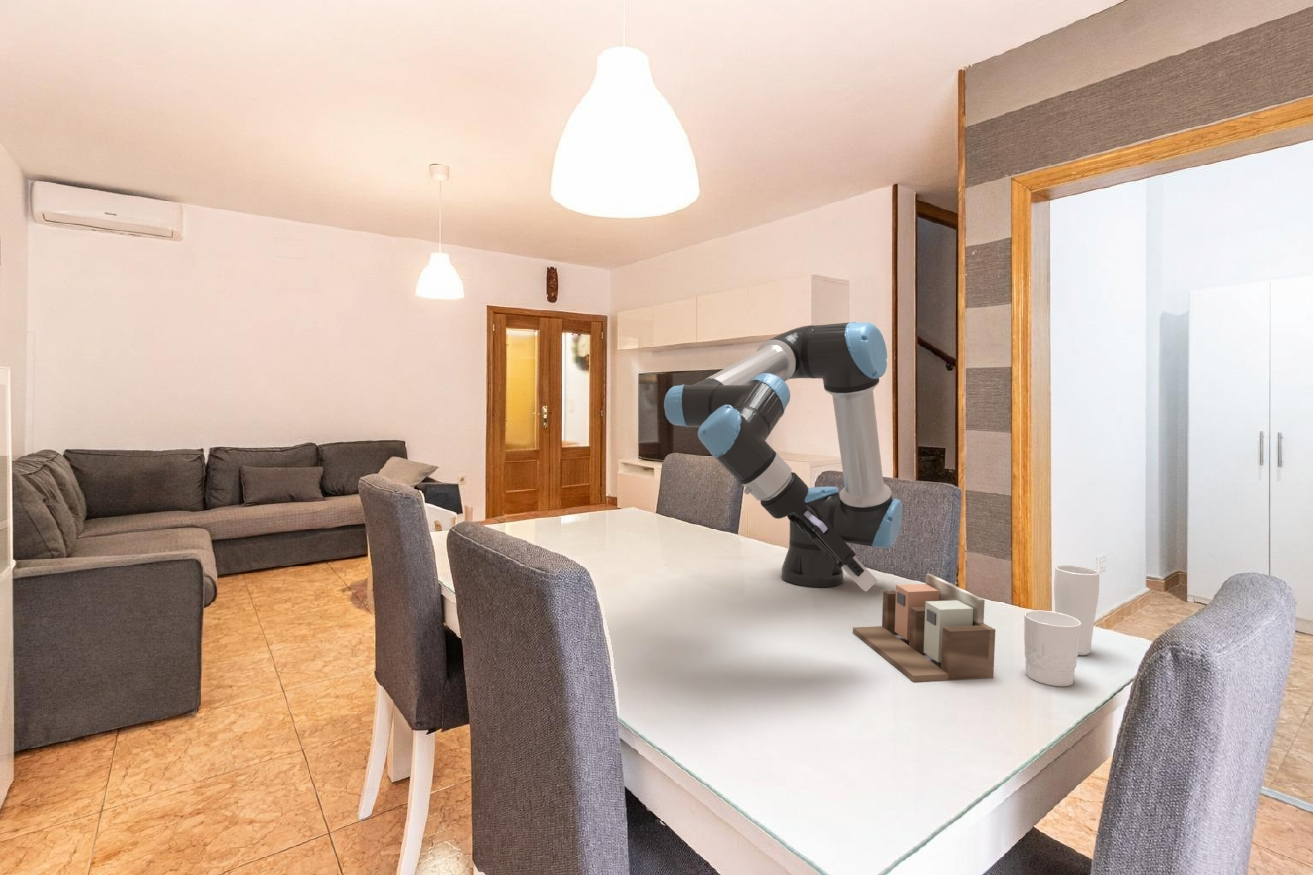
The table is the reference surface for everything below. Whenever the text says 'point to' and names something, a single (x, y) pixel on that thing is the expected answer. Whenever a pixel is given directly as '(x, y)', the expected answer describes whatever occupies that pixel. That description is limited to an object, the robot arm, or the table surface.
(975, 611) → the wooden rack
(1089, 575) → the drinking glass
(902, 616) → the peach rectangular block
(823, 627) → the table surface
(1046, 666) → the white cup
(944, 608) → the cream rectangular block
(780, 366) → the robot arm
